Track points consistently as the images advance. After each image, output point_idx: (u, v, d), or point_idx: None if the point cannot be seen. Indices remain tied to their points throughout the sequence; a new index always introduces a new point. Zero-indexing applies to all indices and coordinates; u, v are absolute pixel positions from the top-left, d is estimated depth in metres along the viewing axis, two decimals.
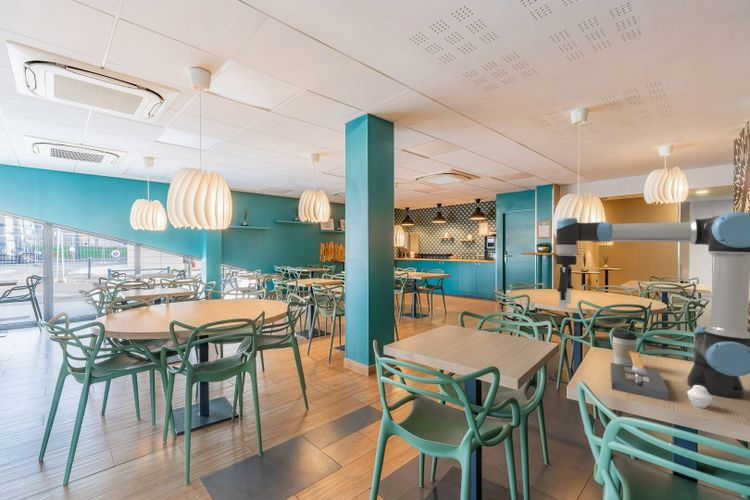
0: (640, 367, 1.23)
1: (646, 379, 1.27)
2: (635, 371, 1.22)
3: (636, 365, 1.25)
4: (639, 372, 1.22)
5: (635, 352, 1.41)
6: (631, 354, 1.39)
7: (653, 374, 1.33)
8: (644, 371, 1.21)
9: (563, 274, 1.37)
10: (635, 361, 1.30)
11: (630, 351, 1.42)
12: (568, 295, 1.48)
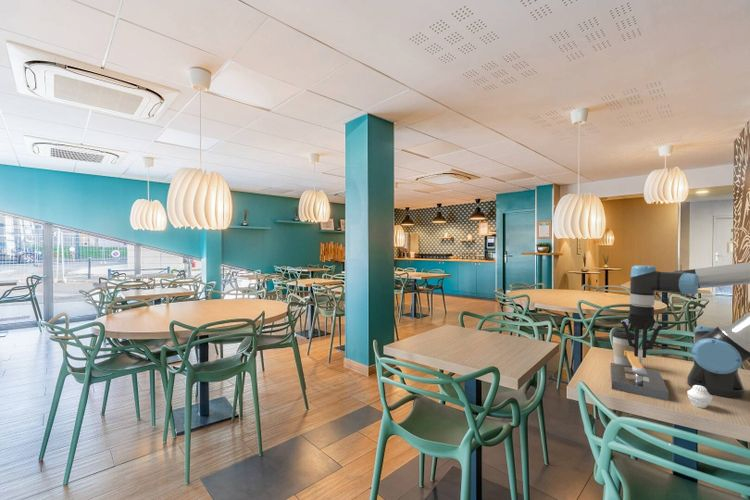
0: (640, 367, 1.23)
1: (646, 379, 1.27)
2: (635, 371, 1.22)
3: (636, 365, 1.25)
4: (639, 372, 1.21)
5: (630, 351, 1.42)
6: (627, 353, 1.40)
7: (653, 374, 1.33)
8: (644, 371, 1.21)
9: None
10: (633, 361, 1.30)
11: None
12: None
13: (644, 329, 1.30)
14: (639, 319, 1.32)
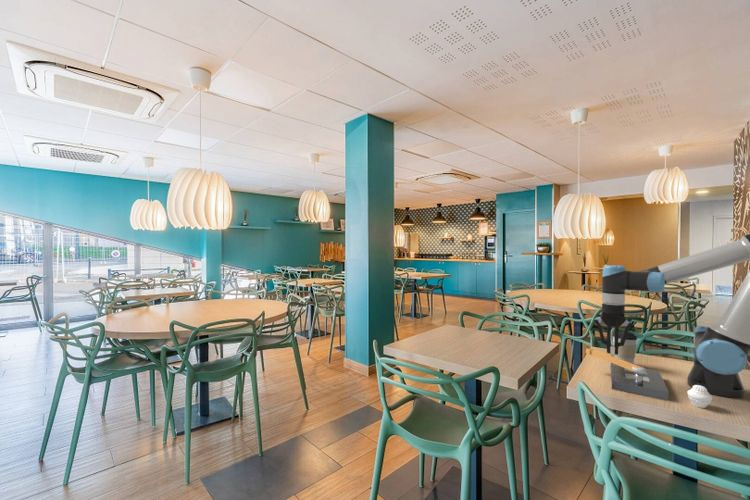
0: (638, 367, 1.24)
1: (646, 379, 1.27)
2: (640, 372, 1.21)
3: (632, 365, 1.25)
4: (644, 372, 1.21)
5: (591, 349, 1.44)
6: (594, 352, 1.41)
7: (653, 374, 1.33)
8: None
9: None
10: (619, 360, 1.30)
11: (587, 349, 1.44)
12: None
13: (615, 327, 1.35)
14: (611, 317, 1.37)
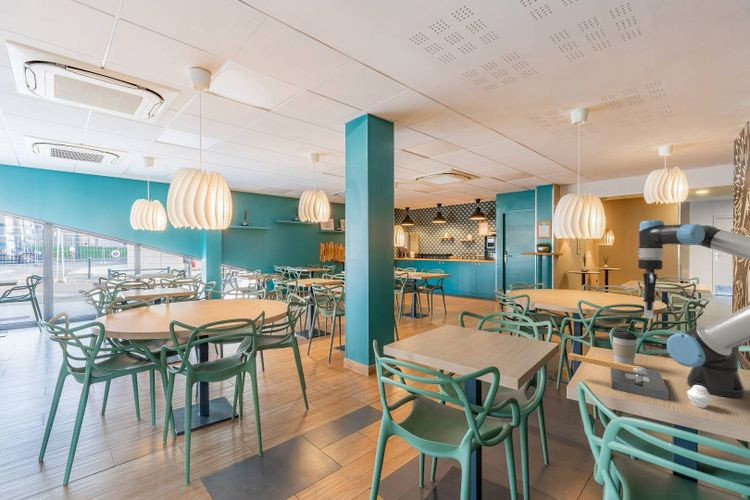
0: (637, 367, 1.24)
1: (646, 379, 1.27)
2: (644, 372, 1.21)
3: (631, 366, 1.24)
4: None
5: (571, 354, 1.38)
6: (579, 357, 1.34)
7: (653, 374, 1.33)
8: None
9: (651, 285, 1.32)
10: (614, 363, 1.28)
11: (569, 354, 1.36)
12: None
13: None
14: None
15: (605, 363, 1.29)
